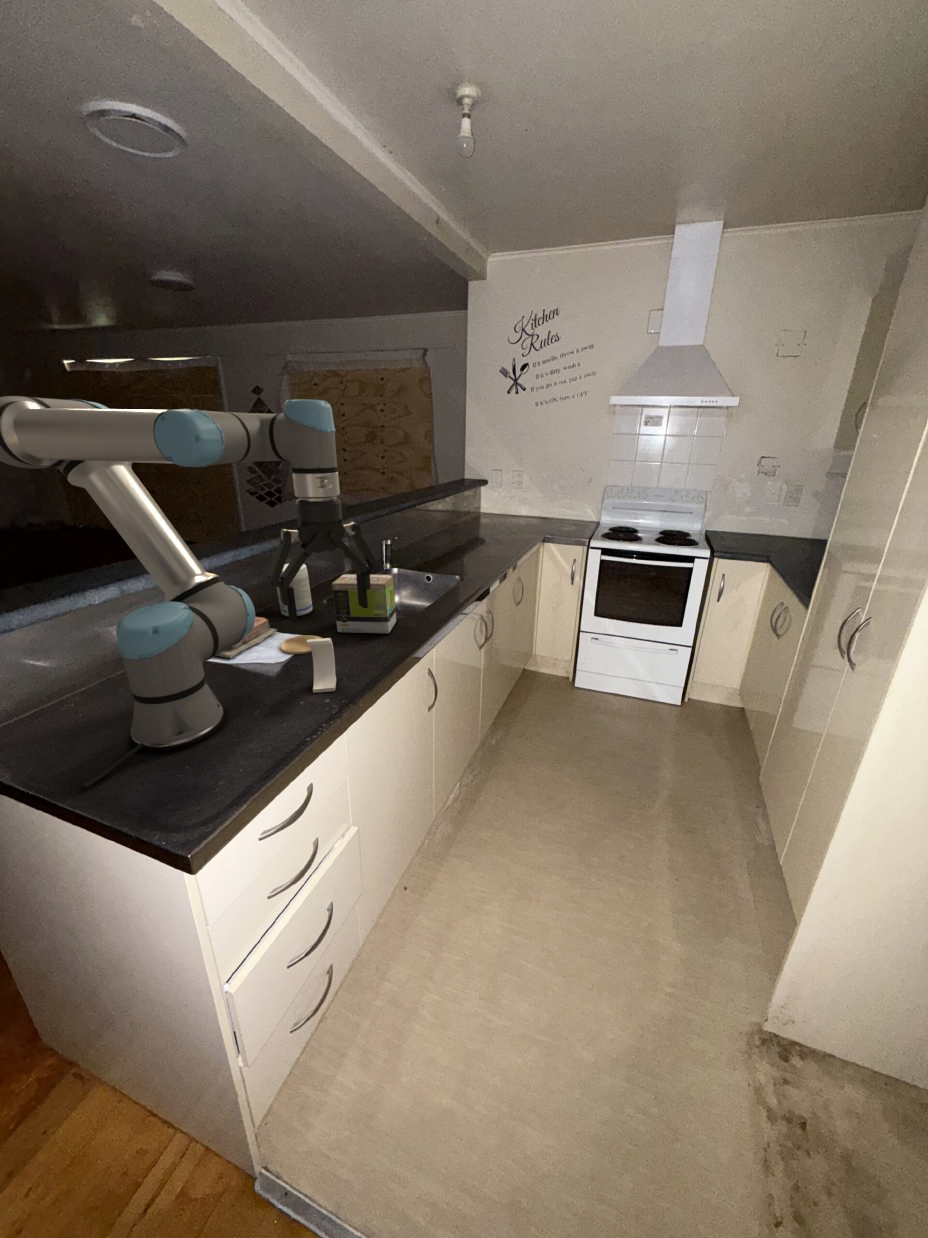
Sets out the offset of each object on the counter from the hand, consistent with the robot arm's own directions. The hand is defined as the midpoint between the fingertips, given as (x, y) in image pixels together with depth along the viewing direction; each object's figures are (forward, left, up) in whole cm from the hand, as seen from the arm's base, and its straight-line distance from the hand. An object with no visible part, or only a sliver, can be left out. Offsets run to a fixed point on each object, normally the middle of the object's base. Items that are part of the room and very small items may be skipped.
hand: (329, 613), depth 91 cm
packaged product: (+23, +42, -21) cm, 52 cm away
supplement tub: (+48, +41, -21) cm, 66 cm away
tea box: (+42, +14, -21) cm, 49 cm away
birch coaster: (+26, +25, -21) cm, 41 cm away
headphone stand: (+8, +8, -21) cm, 24 cm away
